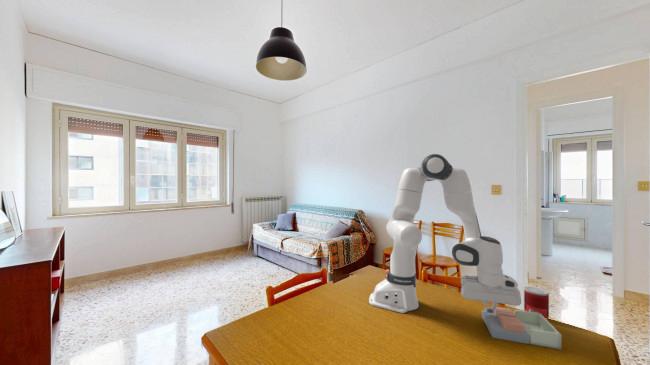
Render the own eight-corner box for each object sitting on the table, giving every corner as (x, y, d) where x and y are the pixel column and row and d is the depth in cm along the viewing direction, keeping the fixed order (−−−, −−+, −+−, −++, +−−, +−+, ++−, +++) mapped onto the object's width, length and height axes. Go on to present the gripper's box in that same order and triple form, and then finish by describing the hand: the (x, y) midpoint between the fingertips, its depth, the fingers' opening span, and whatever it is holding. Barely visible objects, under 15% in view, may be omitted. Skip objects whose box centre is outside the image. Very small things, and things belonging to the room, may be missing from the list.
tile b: (504, 330, 91) (504, 323, 91) (499, 321, 97) (499, 314, 97) (524, 333, 89) (524, 326, 89) (517, 324, 95) (517, 317, 95)
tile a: (498, 320, 98) (498, 313, 98) (493, 312, 104) (493, 306, 104) (516, 322, 96) (516, 316, 96) (510, 315, 102) (510, 308, 102)
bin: (530, 344, 88) (530, 329, 88) (514, 321, 102) (514, 309, 102) (561, 349, 85) (561, 334, 85) (540, 325, 99) (540, 313, 99)
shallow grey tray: (492, 337, 92) (492, 329, 92) (481, 316, 106) (481, 309, 106) (529, 344, 88) (529, 335, 88) (512, 321, 102) (513, 314, 102)
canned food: (553, 321, 102) (553, 294, 102) (530, 319, 104) (530, 293, 104) (541, 312, 110) (541, 287, 110) (520, 310, 111) (520, 285, 111)
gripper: (462, 277, 102) (462, 311, 102) (522, 284, 95) (523, 320, 95) (459, 272, 108) (459, 304, 108) (516, 278, 101) (516, 312, 101)
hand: (489, 312), depth 101 cm, fingers closed
